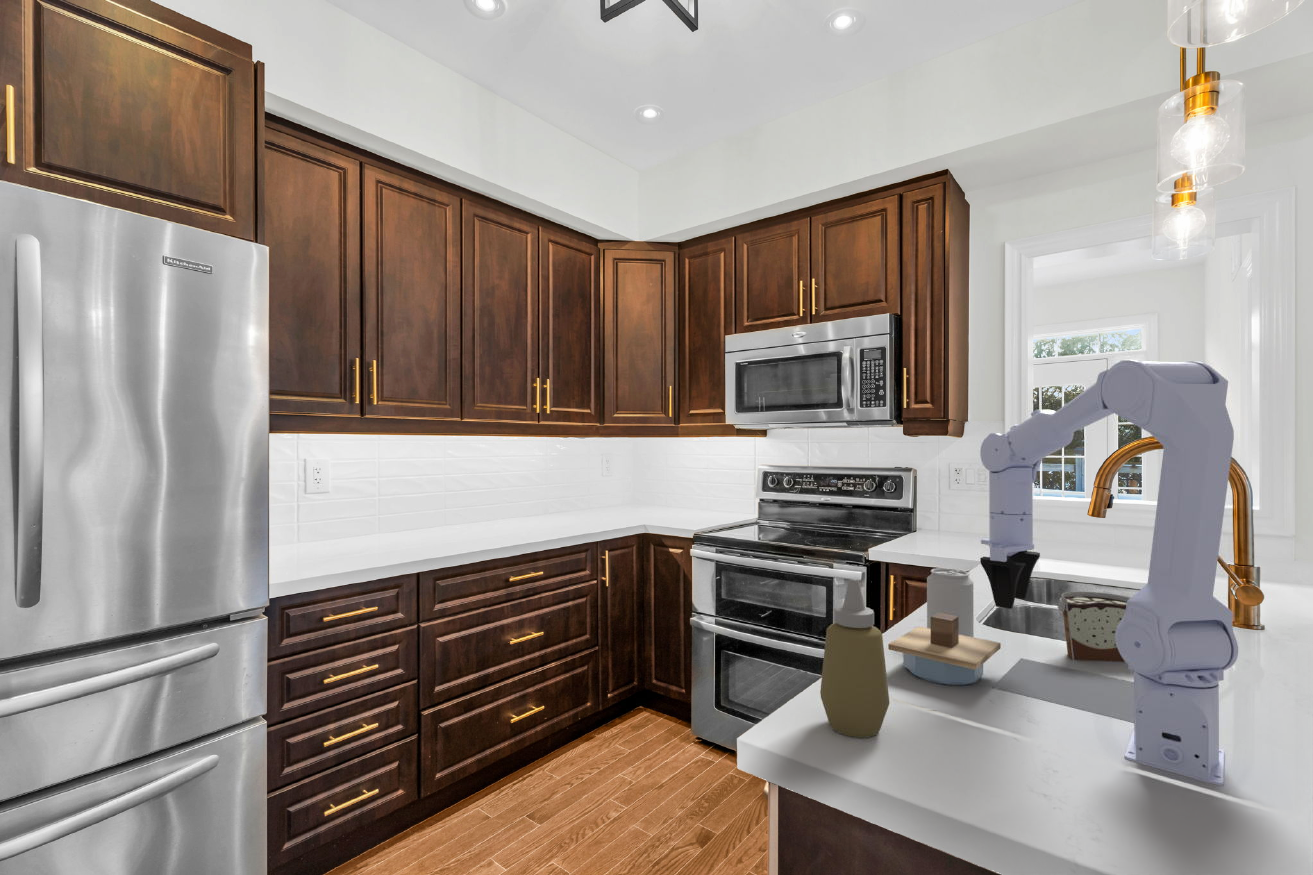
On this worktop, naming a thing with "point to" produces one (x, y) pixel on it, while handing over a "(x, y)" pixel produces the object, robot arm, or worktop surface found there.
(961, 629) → the can
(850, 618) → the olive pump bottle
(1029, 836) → the worktop surface
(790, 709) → the worktop surface
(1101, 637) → the food container
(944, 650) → the lid
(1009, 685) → the mat
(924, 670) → the bowl
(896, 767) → the worktop surface
